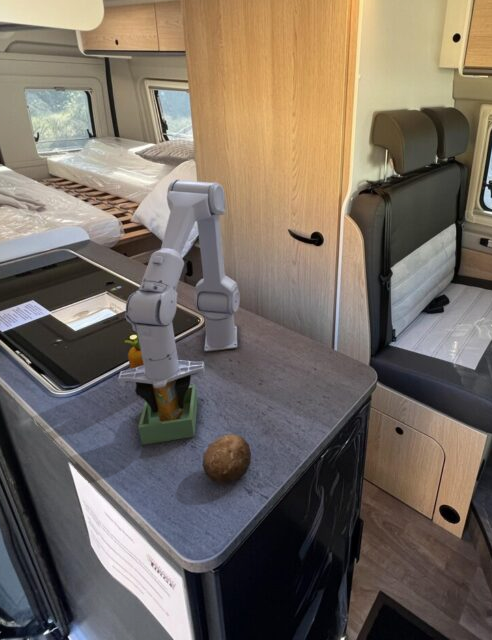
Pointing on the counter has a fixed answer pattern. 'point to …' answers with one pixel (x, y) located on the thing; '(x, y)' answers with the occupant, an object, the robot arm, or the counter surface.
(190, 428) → the bin
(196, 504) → the counter surface
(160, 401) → the supplement box
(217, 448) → the brown oval lump
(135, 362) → the carrot
